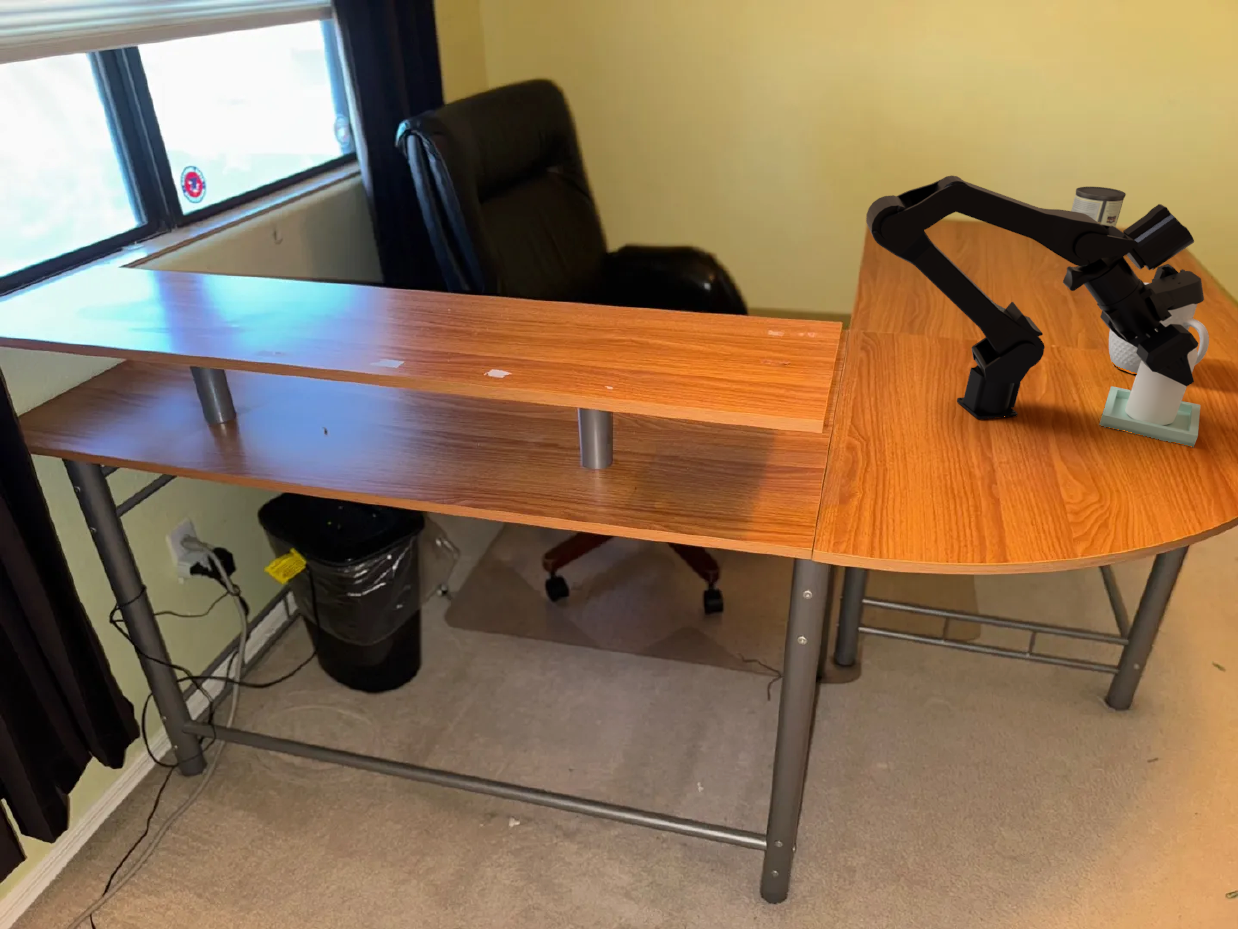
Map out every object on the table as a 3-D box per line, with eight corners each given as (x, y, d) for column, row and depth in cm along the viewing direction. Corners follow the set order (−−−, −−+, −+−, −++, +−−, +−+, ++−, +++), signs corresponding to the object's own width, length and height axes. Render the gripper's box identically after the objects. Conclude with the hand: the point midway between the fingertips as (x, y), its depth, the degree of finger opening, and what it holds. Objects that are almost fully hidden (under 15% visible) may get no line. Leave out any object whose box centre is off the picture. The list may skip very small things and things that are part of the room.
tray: (1193, 447, 122) (1197, 436, 122) (1098, 425, 128) (1102, 414, 127) (1196, 415, 131) (1200, 404, 130) (1107, 396, 137) (1111, 386, 136)
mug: (1209, 381, 143) (1238, 303, 136) (1173, 396, 137) (1202, 316, 131) (1121, 351, 154) (1144, 278, 147) (1084, 363, 148) (1107, 288, 142)
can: (1183, 426, 127) (1212, 348, 121) (1141, 427, 126) (1168, 349, 120) (1155, 407, 132) (1181, 331, 126) (1114, 408, 132) (1139, 332, 126)
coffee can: (1069, 243, 215) (1085, 184, 208) (1114, 252, 209) (1132, 191, 202) (1053, 251, 208) (1069, 190, 201) (1099, 260, 202) (1117, 198, 195)
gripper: (1206, 273, 110) (1267, 361, 114) (1148, 234, 126) (1203, 313, 130) (1121, 329, 114) (1182, 411, 119) (1075, 284, 131) (1131, 358, 135)
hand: (1176, 370), depth 125 cm, fingers open, 9 cm apart
